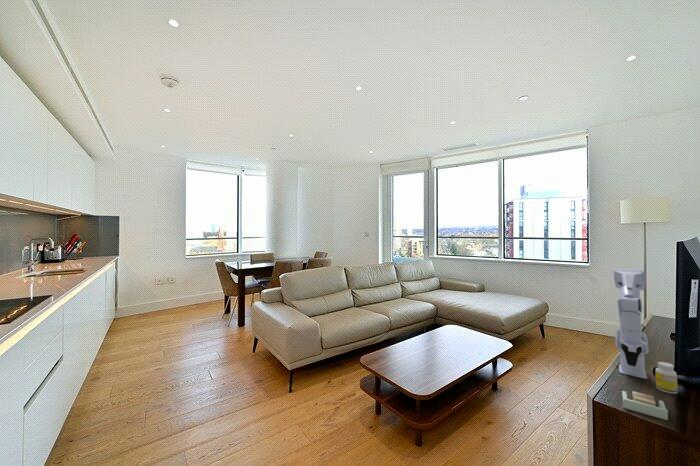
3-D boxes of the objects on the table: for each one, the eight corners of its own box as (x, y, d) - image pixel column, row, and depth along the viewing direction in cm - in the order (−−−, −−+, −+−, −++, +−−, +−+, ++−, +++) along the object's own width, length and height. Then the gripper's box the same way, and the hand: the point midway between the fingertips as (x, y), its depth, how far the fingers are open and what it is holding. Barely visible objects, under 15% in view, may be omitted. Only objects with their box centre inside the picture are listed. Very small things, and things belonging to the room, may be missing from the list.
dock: (622, 396, 101) (622, 387, 101) (663, 407, 94) (663, 398, 94) (623, 407, 94) (623, 398, 95) (668, 420, 88) (667, 410, 88)
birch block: (632, 402, 98) (632, 391, 98) (653, 408, 94) (653, 396, 94) (634, 409, 94) (633, 397, 94) (655, 415, 91) (655, 403, 91)
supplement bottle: (654, 384, 108) (653, 359, 108) (675, 389, 105) (674, 363, 105) (657, 390, 104) (656, 364, 104) (679, 395, 101) (678, 368, 101)
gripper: (648, 336, 97) (649, 375, 97) (643, 326, 108) (644, 361, 108) (620, 332, 102) (621, 369, 102) (618, 322, 113) (619, 356, 113)
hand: (631, 365), depth 105 cm, fingers closed
